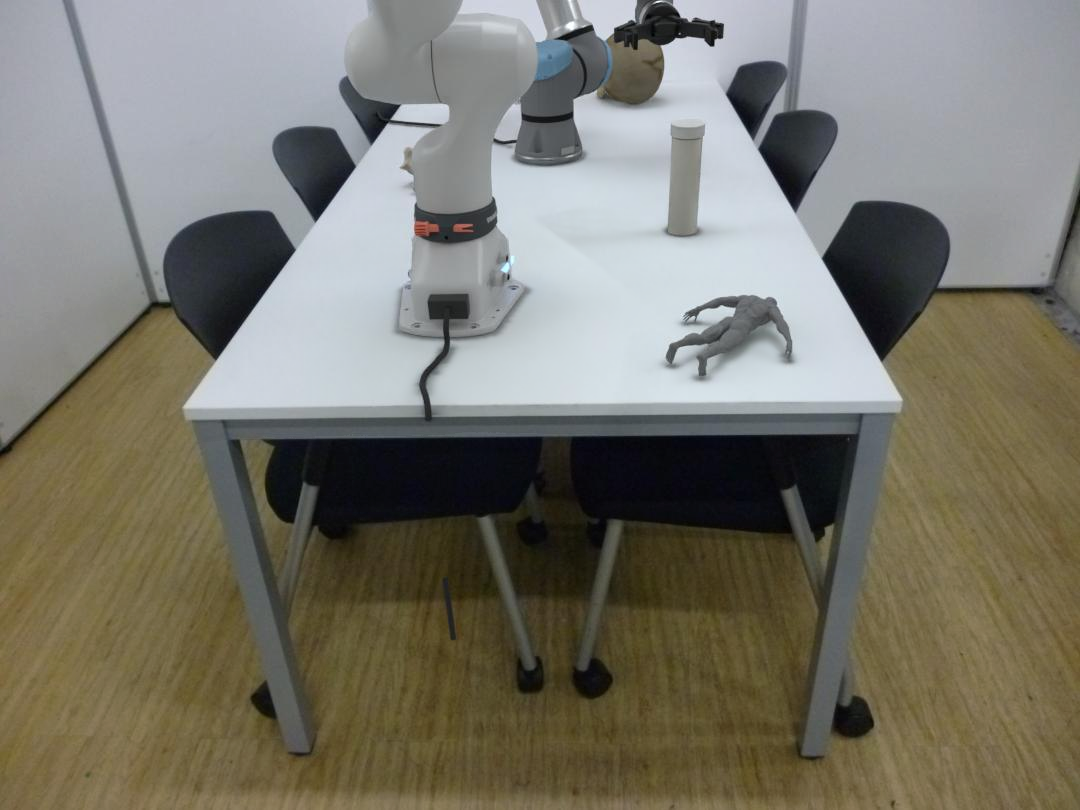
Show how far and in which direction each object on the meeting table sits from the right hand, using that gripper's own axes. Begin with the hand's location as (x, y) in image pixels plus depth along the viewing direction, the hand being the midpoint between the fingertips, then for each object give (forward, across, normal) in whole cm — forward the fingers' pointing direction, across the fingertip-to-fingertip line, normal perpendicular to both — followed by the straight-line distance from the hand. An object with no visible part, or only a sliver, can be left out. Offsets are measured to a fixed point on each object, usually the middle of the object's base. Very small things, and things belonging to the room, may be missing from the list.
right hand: (674, 40), depth 148 cm
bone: (-10, +49, -28) cm, 57 cm away
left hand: (+11, +34, +20) cm, 41 cm away
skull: (-82, +1, -28) cm, 87 cm away
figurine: (+61, -1, -28) cm, 67 cm away
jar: (+19, 0, -28) cm, 34 cm away
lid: (+19, 0, -10) cm, 22 cm away
